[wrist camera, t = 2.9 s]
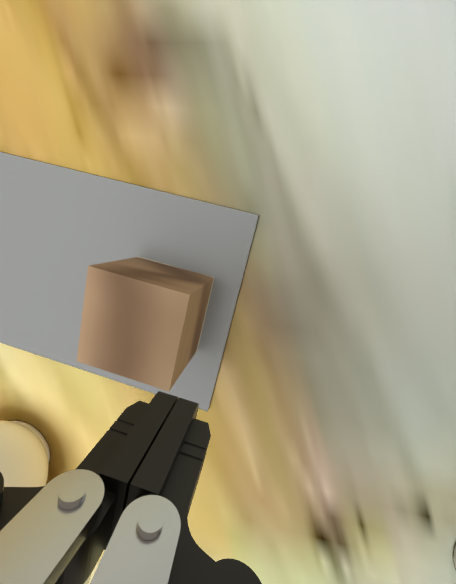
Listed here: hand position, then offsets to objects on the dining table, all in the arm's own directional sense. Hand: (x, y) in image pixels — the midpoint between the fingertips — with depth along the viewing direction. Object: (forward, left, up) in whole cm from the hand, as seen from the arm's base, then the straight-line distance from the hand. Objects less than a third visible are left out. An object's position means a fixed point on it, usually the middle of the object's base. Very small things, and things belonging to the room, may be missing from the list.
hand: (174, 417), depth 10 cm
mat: (+11, 0, -12) cm, 16 cm away
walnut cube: (+5, 0, -12) cm, 12 cm away
